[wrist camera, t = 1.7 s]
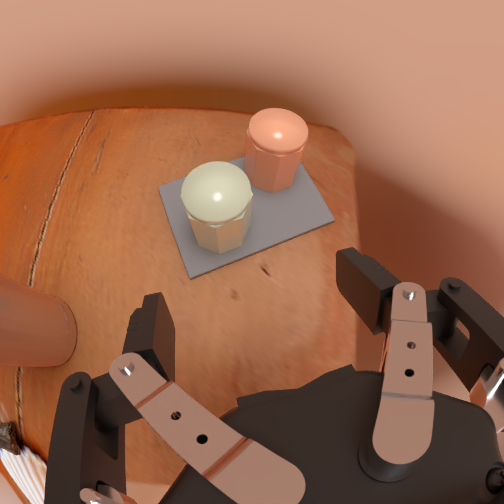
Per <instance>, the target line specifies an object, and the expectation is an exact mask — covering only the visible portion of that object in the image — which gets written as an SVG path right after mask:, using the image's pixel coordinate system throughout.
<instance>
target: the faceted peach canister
mask: <svg viewBox="0 0 504 504" xmlns="http://www.w3.org/2000/svg"><path fill="white" fill-rule="evenodd" d="M307 138H308V128H307V125H306V123H305V122H304V121H303V119H302V118H300V117H299V116H298V115H297V114H295V113H293V112H291V111H288V110H285V109H280V108H269V109H265V110H262V111H259V112H258V113H256V114H255V115H254V116H253V117H252V118H251V120H250V123H249V129H248V130H247V132H246V148H245V168H244V171H245V172H246V174H247V176H248V178H249V180H250V182H251V184H252V186H254V187H257V188H259V189H262V190H265V191H268V192H271V193H274V192H277V191H280V190H283V189H286V188H289V187H291V185H292V182H293V180H294V177H295V174H296V172H297V169H298V166H299V163H300V160H301V157H302V154H303V150H304V147H305V144H306V141H307Z"/></svg>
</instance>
